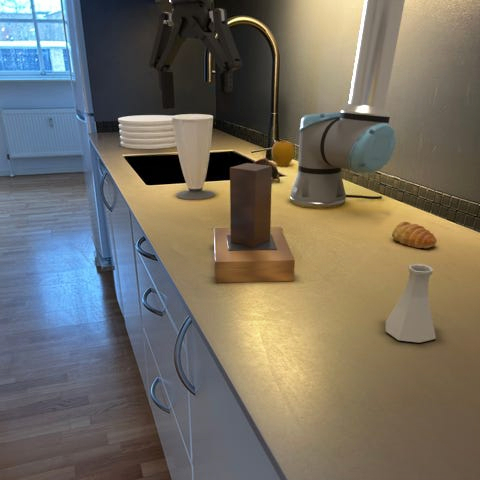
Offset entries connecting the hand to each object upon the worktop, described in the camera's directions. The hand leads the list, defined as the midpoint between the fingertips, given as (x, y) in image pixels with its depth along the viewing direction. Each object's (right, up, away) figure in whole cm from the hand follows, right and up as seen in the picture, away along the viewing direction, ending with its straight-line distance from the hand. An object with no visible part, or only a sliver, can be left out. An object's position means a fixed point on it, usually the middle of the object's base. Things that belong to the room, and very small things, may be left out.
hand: (195, 110), depth 98 cm
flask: (+33, -42, -24) cm, 59 cm away
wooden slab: (+11, -29, +2) cm, 31 cm away
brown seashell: (+17, +5, +68) cm, 71 cm away
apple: (+24, +17, +93) cm, 98 cm away
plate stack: (-33, +42, +141) cm, 151 cm away
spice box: (+11, -25, 0) cm, 27 cm away
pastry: (+46, -24, +13) cm, 53 cm away
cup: (-4, -4, +51) cm, 52 cm away
